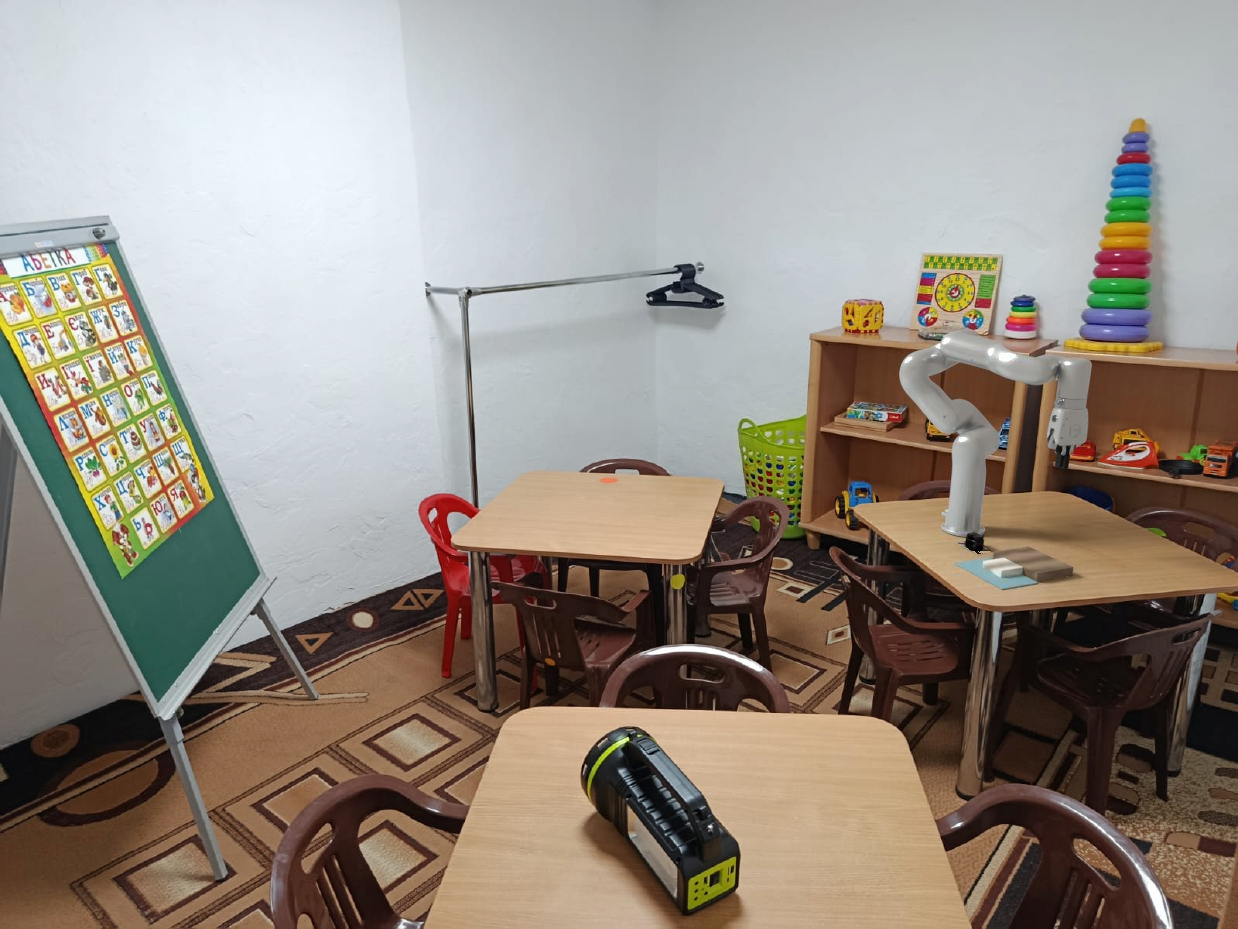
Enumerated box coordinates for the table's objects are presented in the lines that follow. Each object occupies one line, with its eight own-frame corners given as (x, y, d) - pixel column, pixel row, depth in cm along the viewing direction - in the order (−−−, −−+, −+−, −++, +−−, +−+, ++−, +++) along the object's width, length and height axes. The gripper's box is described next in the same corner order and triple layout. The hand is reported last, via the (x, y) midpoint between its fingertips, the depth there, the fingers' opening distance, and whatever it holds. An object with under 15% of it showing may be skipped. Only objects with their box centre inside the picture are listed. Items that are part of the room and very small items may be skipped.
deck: (992, 559, 233) (993, 551, 232) (1027, 554, 237) (1028, 546, 236) (1036, 582, 218) (1037, 573, 218) (1072, 575, 222) (1073, 567, 221)
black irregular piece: (949, 543, 247) (950, 529, 245) (968, 540, 249) (970, 526, 248) (979, 558, 235) (981, 543, 234) (1000, 555, 238) (1001, 540, 237)
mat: (954, 564, 231) (955, 563, 230) (989, 558, 234) (989, 557, 234) (1001, 589, 214) (1002, 588, 214) (1038, 583, 217) (1038, 582, 217)
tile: (982, 567, 227) (983, 560, 227) (1003, 564, 229) (1004, 557, 229) (1000, 577, 221) (1001, 570, 220) (1022, 574, 223) (1023, 567, 222)
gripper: (1059, 408, 221) (1050, 473, 226) (1103, 404, 226) (1093, 468, 231) (1038, 402, 228) (1029, 466, 233) (1080, 398, 232) (1071, 461, 237)
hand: (1061, 467), depth 232 cm, fingers closed
